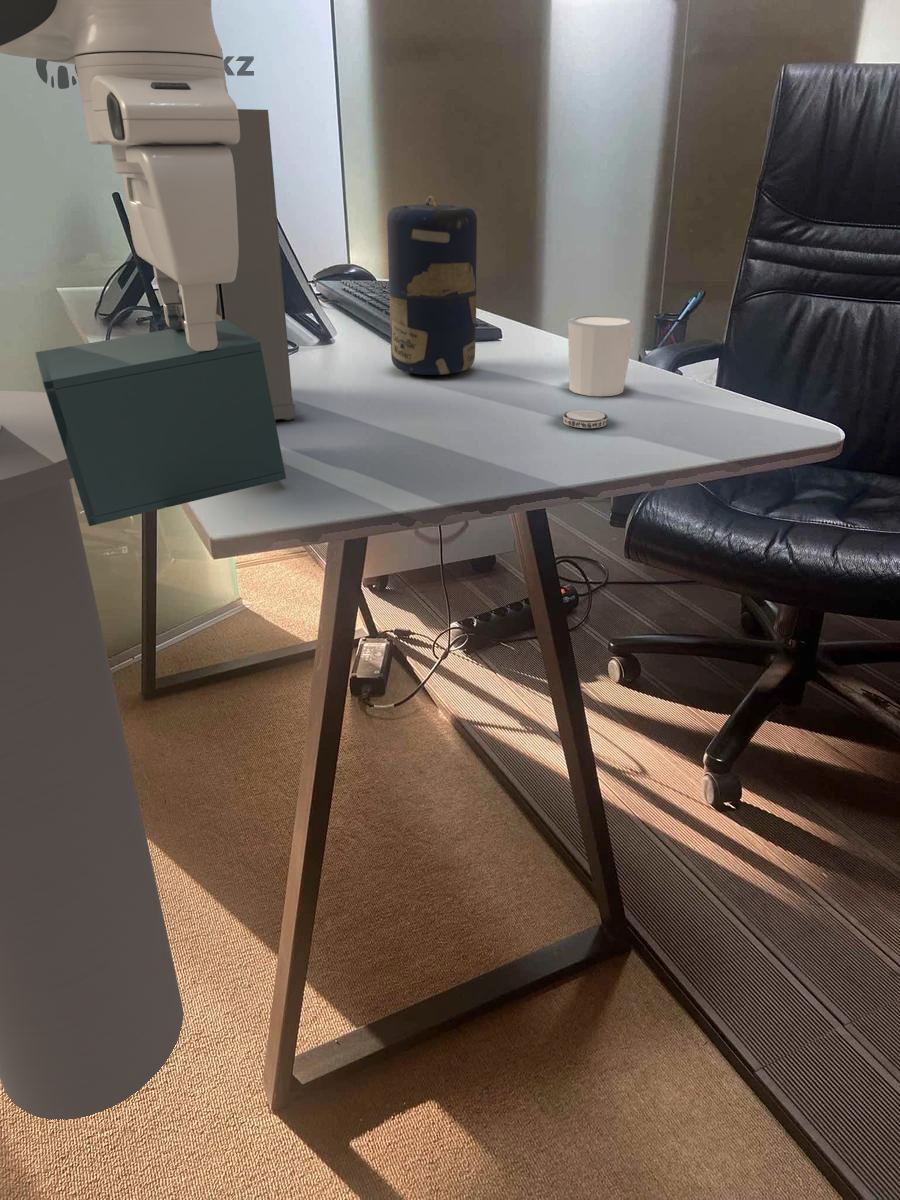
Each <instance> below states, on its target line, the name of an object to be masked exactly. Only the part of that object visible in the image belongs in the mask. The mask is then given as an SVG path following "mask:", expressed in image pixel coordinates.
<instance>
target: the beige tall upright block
mask: <svg viewBox="0 0 900 1200" xmlns="http://www.w3.org/2000/svg"><path fill="white" fill-rule="evenodd" d="M237 111H238V117H239V119H238V121H239V126H240V140H239V142H238V143H237V144H234V145H226V146H228V147H229V149H230V151H231V153H232V157H233V163H234V171H235V184H236V201H237V221H238V244H239V257H238V267H237V273H236V278H235V280H234V281H233V282H230V283H221V284H216V291H217V307H216V321H221V320H226V319H227V320H228V321H230V322H231V323H233V324H234V325H236V326H237V327H239V328H240V329H242V330H243V331H245V332H246V333H247V334H249V335H250V336H252V337H253V338H255V339H256V340H258V341H259V342H260V344H261V351H262V354H263V359H264V365H265V370H266V375H267V380H268V386H269V391H270V396H271V401H272V407H273V412H274V417H275V421H277V420H283V421H292V420H294V418H296V407H295V405H296V404H294V401H293V390H292V380H291V377H292V376H291V367H290V356H289V355H290V354H289V343H288V330H287V320H286V307H285V306H286V305H285V295H284V284H283V271H282V260H281V247H280V236H279V224H278V213H277V201H276V199H277V198H276V188H275V187H276V186H275V177H274V163H273V153H272V142H271V141H272V139H271V130H270V129H271V128H270V117H269V109H253V108H251V109H250V108H249V109H248V108H246V109H245V108H237Z"/></svg>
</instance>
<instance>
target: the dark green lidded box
mask: <svg viewBox="0 0 900 1200" xmlns="http://www.w3.org/2000/svg"><path fill="white" fill-rule="evenodd" d="M177 297H178V299H179V301H180V302H181V303H182V297H181V296H180V292H179V289H178V291H177ZM182 304H183V303H182ZM215 325H216V333H217V340H218V345H217V347H216V348H215V349H214V350H209V351H198V352H197V351H195V350H193V349H192V348H191V347H190V346H189V345H188V343H187V340H186V333H185V330H173V329H171V328H170V329H169V328H168V329H163V330H157V331H151V332H146V333H140V334H134V335H128V336H122V337H117V338H111V339H106V340H98V341H93V342H87V343H82V344H76V345H70V346H64V347H58V348H52V349H47V350H46V349H45V350H40V351H35V357H36V361H37V365H38V368H39V373H40V377H41V382H42V384H43V388H44V392H45V393H46V394H47V397H48V400H49V403H50V406H51V409H52V412H53V415H54V419H55V422H56V425H57V428H58V431H59V434H60V437H61V440H62V443H63V447H64V450H65V453H66V456H67V459H68V462H69V465H70V468H71V471H72V474H73V478H72V479H73V481H74V484H75V486H76V489H77V494H78V496H79V499H80V502H81V505H82V509H83V512H84V515H85V518H86V522H87V523H88V526H89V527H92V526H97V525H101V524H105V523H109V522H113V521H117V520H121V519H125V518H130V517H134V516H137V515H142V514H146V513H151V512H154V511H159V510H162V509H166V508H171V507H175V506H179V505H184V504H187V503H192V502H196V501H199V500H203V499H207V498H211V497H216V496H220V495H224V494H229V493H233V492H236V491H237V492H238V491H241V490H246V489H249V488H253V487H257V486H261V485H266V484H271V483H275V482H279V481H282V480H286V479H287V475H286V471H285V465H284V460H283V455H282V454H283V453H282V450H281V444H280V438H279V434H278V428H277V422H276V420H275V417H274V412H273V407H272V401H271V396H270V391H269V386H268V380H267V375H266V370H265V365H264V359H263V354H262V351H261V344H260V342H259V341H258V340H256V339H255V338H253V337H252V336H250V335H249V334H247V333H246V332H245V331H243V330H242V329H240V328H239V327H237V326H236V325H234V324H233V323H231V322H230V321H228V320H227V319H226V320H221V321H216V322H215Z"/></svg>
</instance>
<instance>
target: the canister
mask: <svg viewBox="0 0 900 1200" xmlns="http://www.w3.org/2000/svg"><path fill="white" fill-rule="evenodd" d="M430 201H432V203H433V204H430ZM386 230H387V231H386V232H387V256H388V257H387V261H388V262H387V266H388V294H389V296H388V297H389V327H390V356H391V362H392V365H393V366H394V367H395V368H397V369H398V370H400V371H402V372H405V373H409V374H413V375H427V376H436V375H437V376H439V375H440V376H441V375H451V374H456V373H460V372H463V371H466V370H468V369H469V368H471V367H472V366H473V364H474V362H475V358H476V335H477V333H476V331H477V254H478V253H477V252H478V251H477V247H478V245H477V244H478V238H477V237H478V217H477V214H476V212H475V210H474V209H472V208H471V207H469V206H464V205H454V204H438V203H437V201H436V199H435V197H434V196H433V195H429V196H428V197H426V200H425V202H424V204H407V205H406V204H405V205H399V206H393V207H392V208H390V210H389V211H388V214H387V218H386Z"/></svg>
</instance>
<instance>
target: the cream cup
mask: <svg viewBox="0 0 900 1200" xmlns="http://www.w3.org/2000/svg"><path fill="white" fill-rule="evenodd" d="M636 325H637V322H636V321H634V320H633V319H629V318H625V317H619V316H611V315H583V316H576V317H572V318H569V319H568V321H567V335H568V339H567V340H568V381H569V383H568V384H569V385H568V386H569V391H571V392H572V393H575V394H578V395H582V396H588V397H612V396H617V395H620V394H622V393H624V389H625V383H626V377H627V373H628V367H629V363H630V357H631V352H632V348H633V347H632V346H633V341H634V336H635V331H636V327H637V326H636Z"/></svg>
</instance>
